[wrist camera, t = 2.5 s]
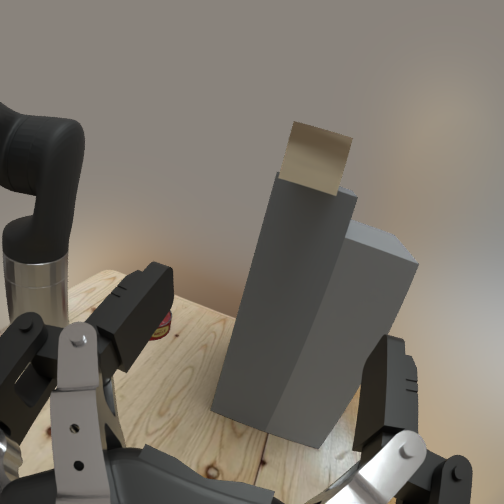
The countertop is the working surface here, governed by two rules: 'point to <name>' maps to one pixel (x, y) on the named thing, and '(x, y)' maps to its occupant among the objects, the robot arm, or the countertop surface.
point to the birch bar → (315, 158)
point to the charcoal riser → (310, 314)
